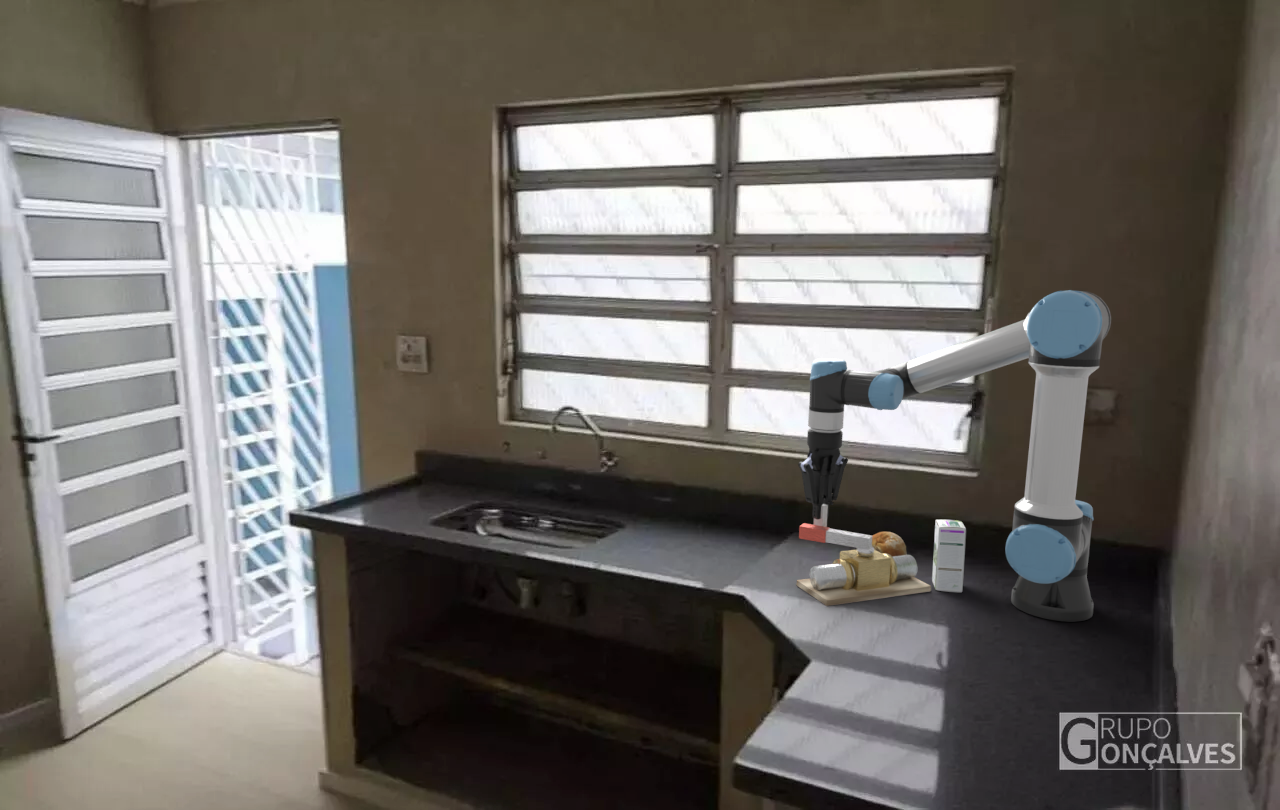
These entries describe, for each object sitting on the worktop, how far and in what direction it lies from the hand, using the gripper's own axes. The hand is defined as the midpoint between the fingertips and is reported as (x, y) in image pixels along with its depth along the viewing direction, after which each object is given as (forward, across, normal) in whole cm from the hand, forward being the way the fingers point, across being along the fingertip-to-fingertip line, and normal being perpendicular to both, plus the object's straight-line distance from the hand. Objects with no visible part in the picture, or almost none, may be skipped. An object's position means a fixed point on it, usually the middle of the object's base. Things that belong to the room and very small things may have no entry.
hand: (819, 531), depth 185 cm
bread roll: (+11, -23, -1) cm, 25 cm away
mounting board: (+10, -3, +11) cm, 15 cm away
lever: (+2, 0, +5) cm, 6 cm away
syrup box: (+10, -19, +20) cm, 29 cm away
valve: (+10, -3, +11) cm, 15 cm away
